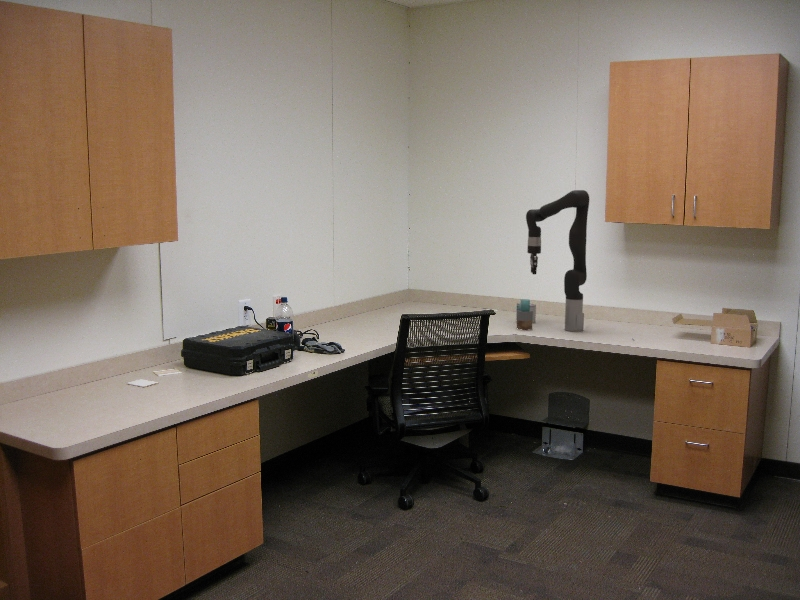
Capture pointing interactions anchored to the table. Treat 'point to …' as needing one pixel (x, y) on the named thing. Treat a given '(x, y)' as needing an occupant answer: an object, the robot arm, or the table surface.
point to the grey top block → (524, 316)
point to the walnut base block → (524, 324)
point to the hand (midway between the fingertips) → (533, 273)
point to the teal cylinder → (525, 305)
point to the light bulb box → (532, 308)
